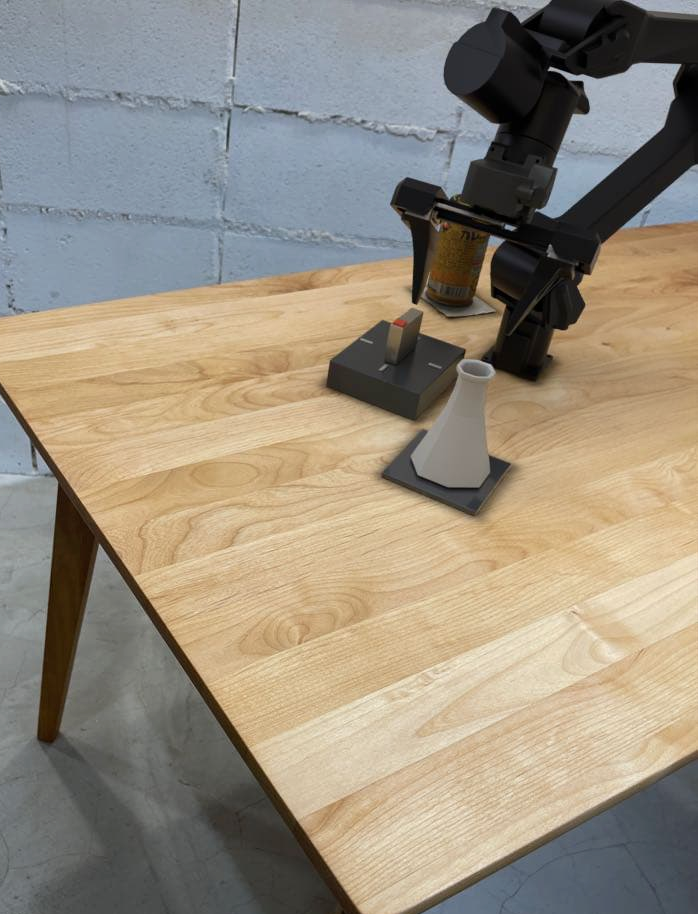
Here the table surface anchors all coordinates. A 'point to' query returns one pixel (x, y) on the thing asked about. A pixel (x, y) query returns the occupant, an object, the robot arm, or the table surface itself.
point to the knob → (403, 336)
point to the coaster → (456, 497)
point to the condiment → (457, 270)
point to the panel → (395, 372)
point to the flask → (459, 432)
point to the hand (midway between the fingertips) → (460, 319)
